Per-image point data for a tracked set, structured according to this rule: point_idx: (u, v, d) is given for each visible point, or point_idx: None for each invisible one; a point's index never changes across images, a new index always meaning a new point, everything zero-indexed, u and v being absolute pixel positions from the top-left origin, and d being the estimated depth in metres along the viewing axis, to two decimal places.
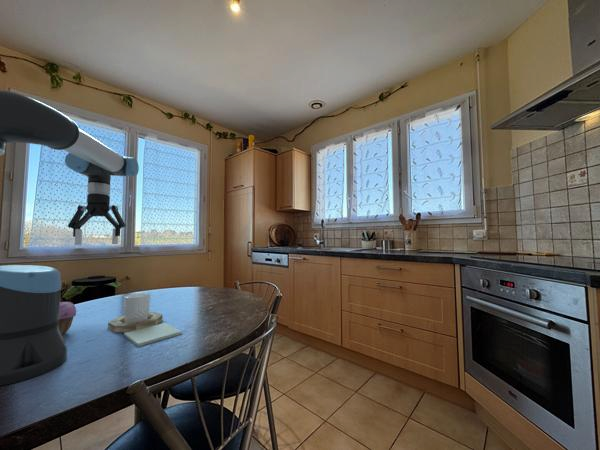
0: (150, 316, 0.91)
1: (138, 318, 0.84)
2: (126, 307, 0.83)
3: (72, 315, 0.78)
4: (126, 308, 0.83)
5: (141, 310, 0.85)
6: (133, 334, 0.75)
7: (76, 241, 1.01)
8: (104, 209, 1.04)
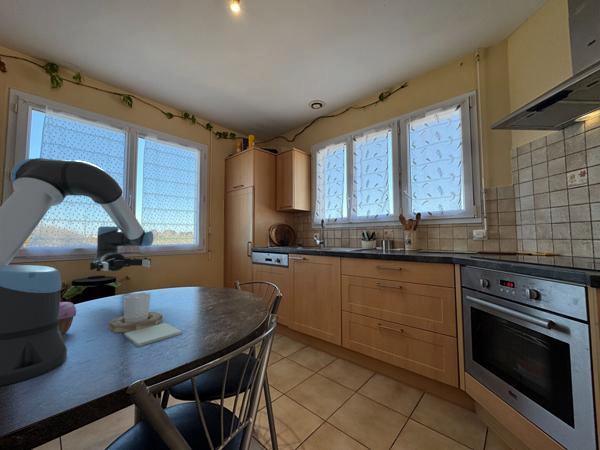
0: (150, 316, 0.91)
1: (138, 318, 0.84)
2: (126, 307, 0.83)
3: (72, 315, 0.78)
4: (126, 308, 0.83)
5: (141, 310, 0.85)
6: (133, 334, 0.75)
7: (106, 263, 0.90)
8: None
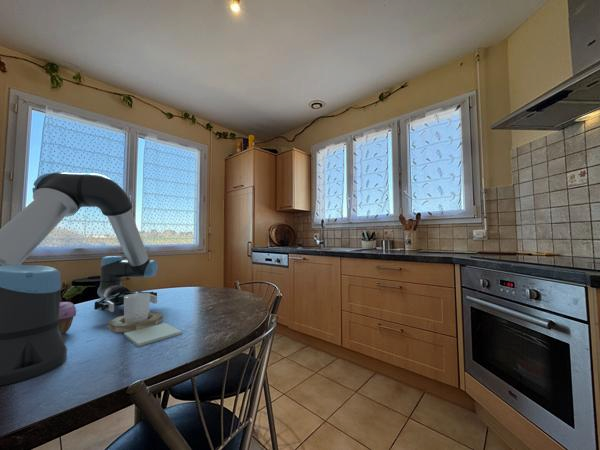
0: (150, 316, 0.91)
1: (138, 318, 0.84)
2: (126, 307, 0.83)
3: (72, 315, 0.78)
4: (126, 308, 0.83)
5: (141, 310, 0.85)
6: (133, 334, 0.75)
7: (112, 303, 0.85)
8: (131, 293, 1.01)
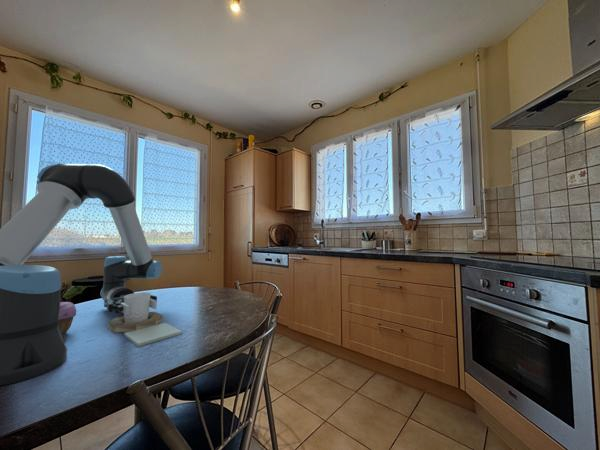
0: (150, 316, 0.91)
1: (138, 318, 0.84)
2: None
3: (72, 315, 0.78)
4: None
5: (141, 310, 0.85)
6: (133, 334, 0.75)
7: (126, 305, 0.82)
8: None
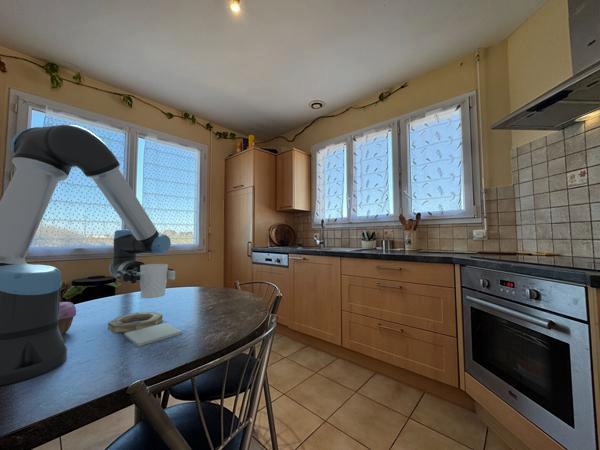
0: (150, 316, 0.91)
1: (156, 289, 0.78)
2: None
3: (72, 315, 0.78)
4: None
5: (159, 280, 0.78)
6: (133, 334, 0.75)
7: (144, 274, 0.75)
8: None
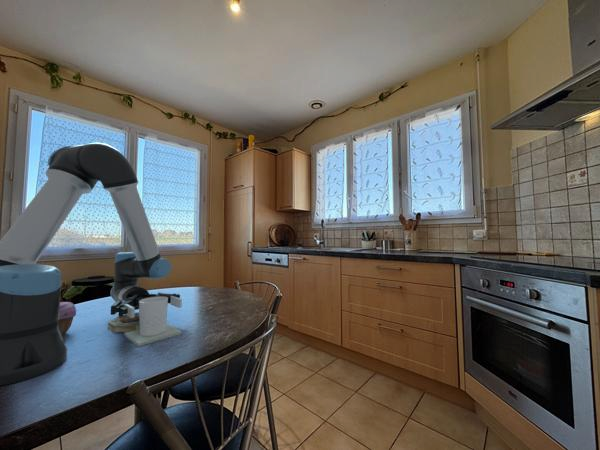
0: None
1: (155, 326, 0.74)
2: (142, 313, 0.74)
3: (72, 315, 0.78)
4: (142, 314, 0.74)
5: (158, 316, 0.75)
6: (133, 334, 0.75)
7: (132, 307, 0.71)
8: None
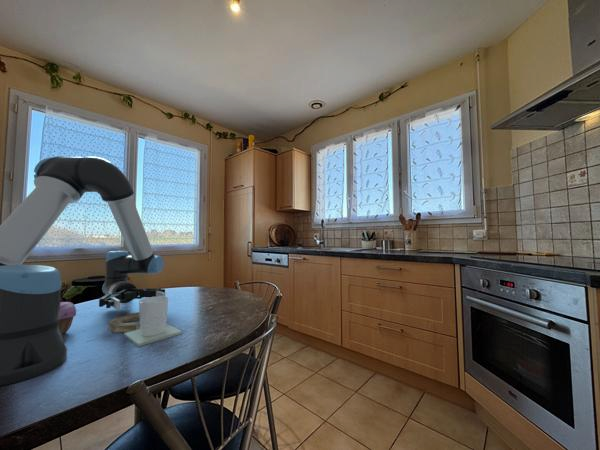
0: None
1: (155, 326, 0.74)
2: (142, 313, 0.74)
3: (72, 315, 0.78)
4: (142, 314, 0.74)
5: (159, 317, 0.75)
6: (133, 334, 0.75)
7: (117, 300, 0.79)
8: None
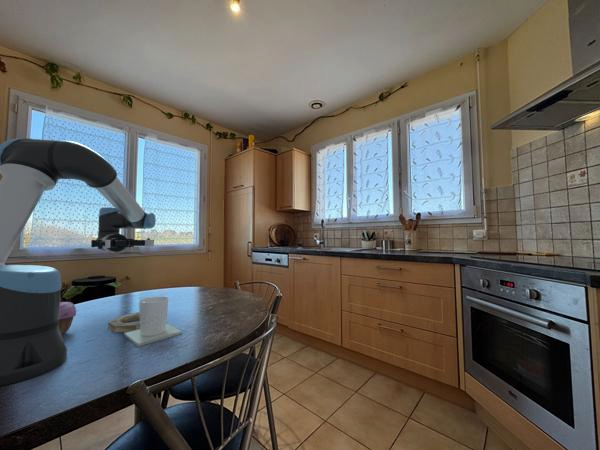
0: None
1: (155, 326, 0.74)
2: (142, 313, 0.74)
3: (72, 315, 0.78)
4: (142, 314, 0.74)
5: (159, 316, 0.75)
6: (133, 334, 0.75)
7: (108, 240, 0.86)
8: None
